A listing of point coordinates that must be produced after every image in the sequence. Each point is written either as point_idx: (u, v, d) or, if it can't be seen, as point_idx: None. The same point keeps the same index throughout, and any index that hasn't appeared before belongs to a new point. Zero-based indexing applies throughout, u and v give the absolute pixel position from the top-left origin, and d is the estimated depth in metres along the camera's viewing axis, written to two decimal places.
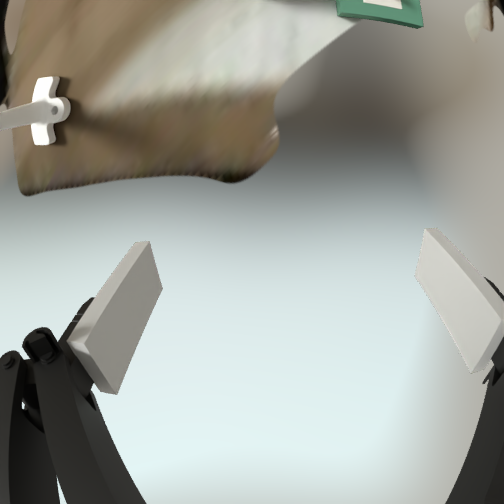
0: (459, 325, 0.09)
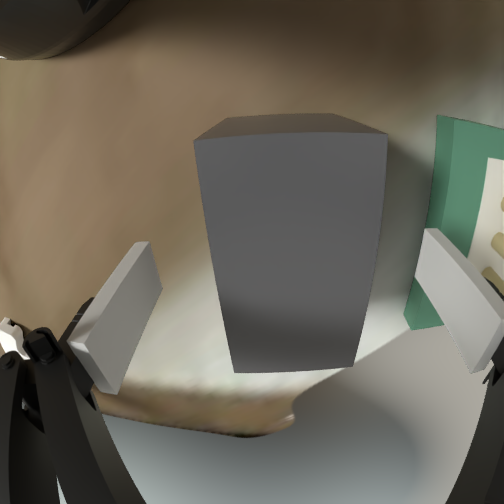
0: (459, 324, 0.09)
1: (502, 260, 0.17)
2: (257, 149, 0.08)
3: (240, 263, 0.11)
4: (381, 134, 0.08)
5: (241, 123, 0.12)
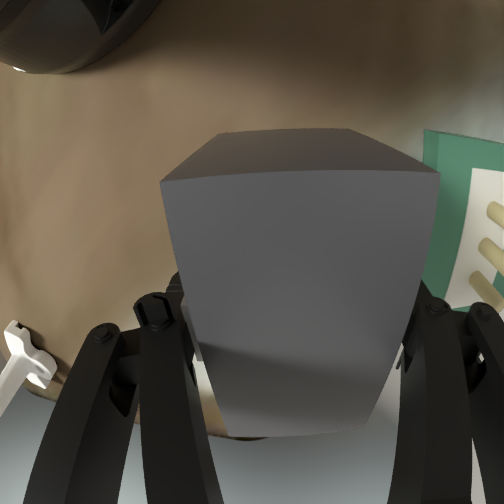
0: None
1: (490, 264, 0.18)
2: (254, 195, 0.06)
3: (232, 340, 0.08)
4: (432, 173, 0.05)
5: (234, 145, 0.09)
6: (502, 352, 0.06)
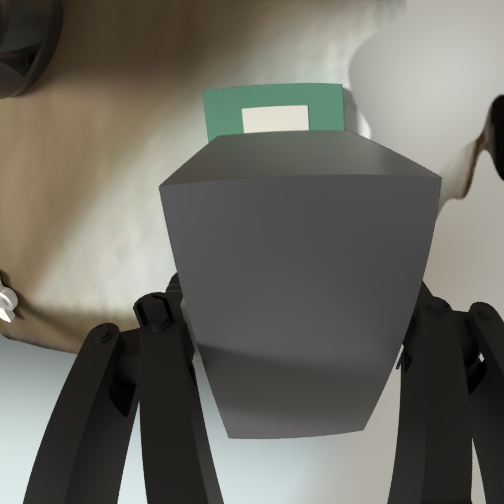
0: None
1: None
2: (254, 200, 0.06)
3: (232, 343, 0.08)
4: (433, 177, 0.05)
5: (234, 147, 0.09)
6: (502, 352, 0.06)
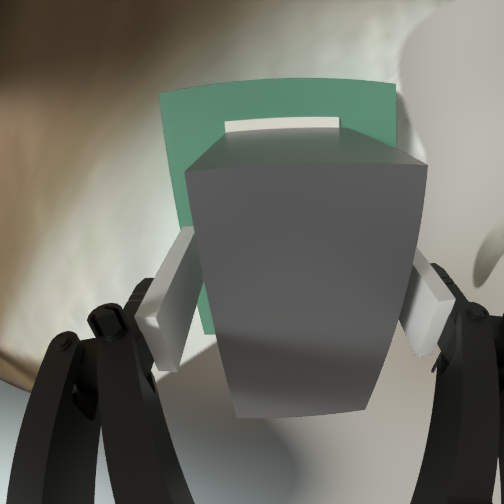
0: (405, 309, 0.10)
1: None
2: (266, 183, 0.07)
3: (244, 316, 0.09)
4: (420, 165, 0.06)
5: (244, 142, 0.10)
6: None
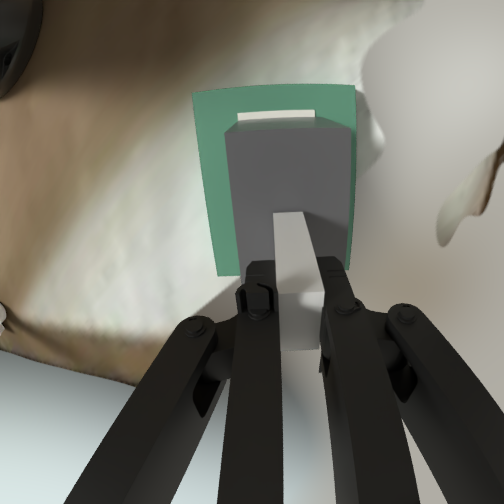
0: None
1: None
2: (265, 138, 0.13)
3: (253, 217, 0.15)
4: (346, 128, 0.13)
5: (252, 123, 0.16)
6: (433, 358, 0.06)
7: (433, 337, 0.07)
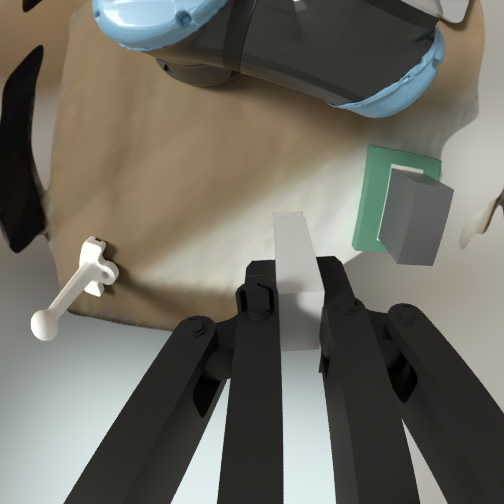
0: None
1: None
2: (428, 188, 0.30)
3: (416, 218, 0.32)
4: (452, 189, 0.30)
5: (411, 175, 0.33)
6: (433, 358, 0.06)
7: (433, 337, 0.07)
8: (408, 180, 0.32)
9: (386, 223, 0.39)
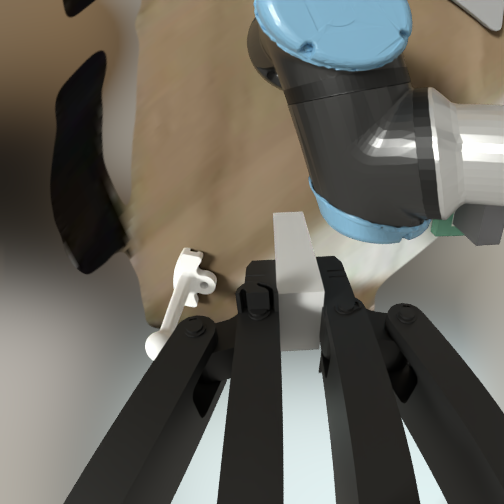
0: None
1: None
2: None
3: (489, 206, 0.32)
4: None
5: None
6: (433, 358, 0.06)
7: (433, 337, 0.07)
8: None
9: (460, 211, 0.40)
